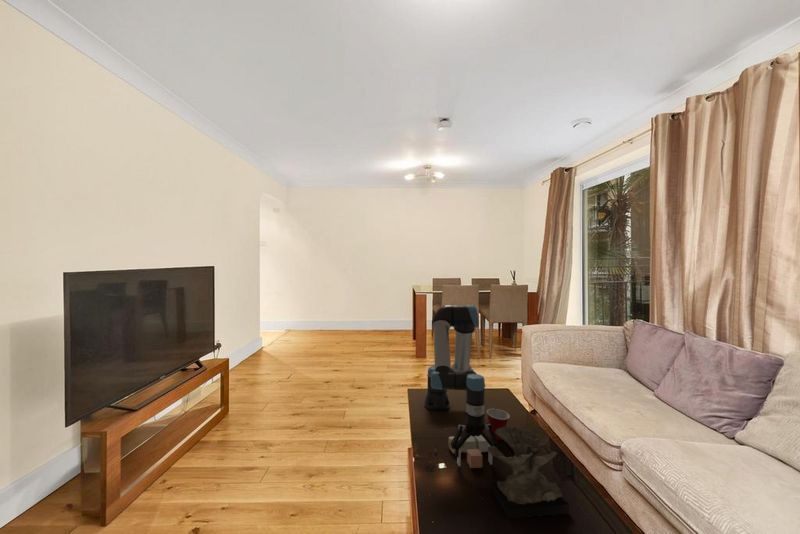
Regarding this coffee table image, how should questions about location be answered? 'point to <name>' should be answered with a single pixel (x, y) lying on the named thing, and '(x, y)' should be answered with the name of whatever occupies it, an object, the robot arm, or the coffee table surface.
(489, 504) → the coffee table surface
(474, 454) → the terracotta cube
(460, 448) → the maple cube
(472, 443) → the sage cube
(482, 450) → the offwhite cube
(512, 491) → the coral
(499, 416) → the plastic cup
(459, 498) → the coffee table surface
